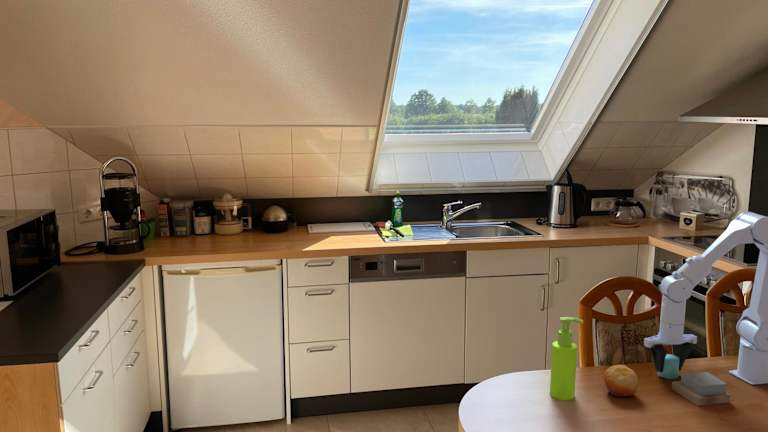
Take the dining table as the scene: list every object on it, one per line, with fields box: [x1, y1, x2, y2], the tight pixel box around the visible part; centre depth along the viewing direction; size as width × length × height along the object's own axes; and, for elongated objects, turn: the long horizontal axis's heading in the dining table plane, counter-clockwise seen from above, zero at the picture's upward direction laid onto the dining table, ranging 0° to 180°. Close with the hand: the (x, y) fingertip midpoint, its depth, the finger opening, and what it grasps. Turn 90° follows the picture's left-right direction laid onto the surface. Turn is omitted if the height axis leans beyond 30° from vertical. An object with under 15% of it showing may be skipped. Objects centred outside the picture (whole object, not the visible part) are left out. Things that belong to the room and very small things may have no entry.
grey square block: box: [680, 371, 728, 396], centre depth 146 cm, size 7×7×2 cm
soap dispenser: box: [549, 316, 584, 401], centre depth 145 cm, size 6×7×20 cm
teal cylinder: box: [657, 353, 680, 380], centre depth 158 cm, size 5×5×5 cm
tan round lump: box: [603, 364, 640, 398], centre depth 148 cm, size 8×8×8 cm
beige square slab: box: [671, 380, 731, 407], centre depth 147 cm, size 9×9×2 cm
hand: (668, 370), depth 158 cm, fingers closed on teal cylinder, 5 cm apart
